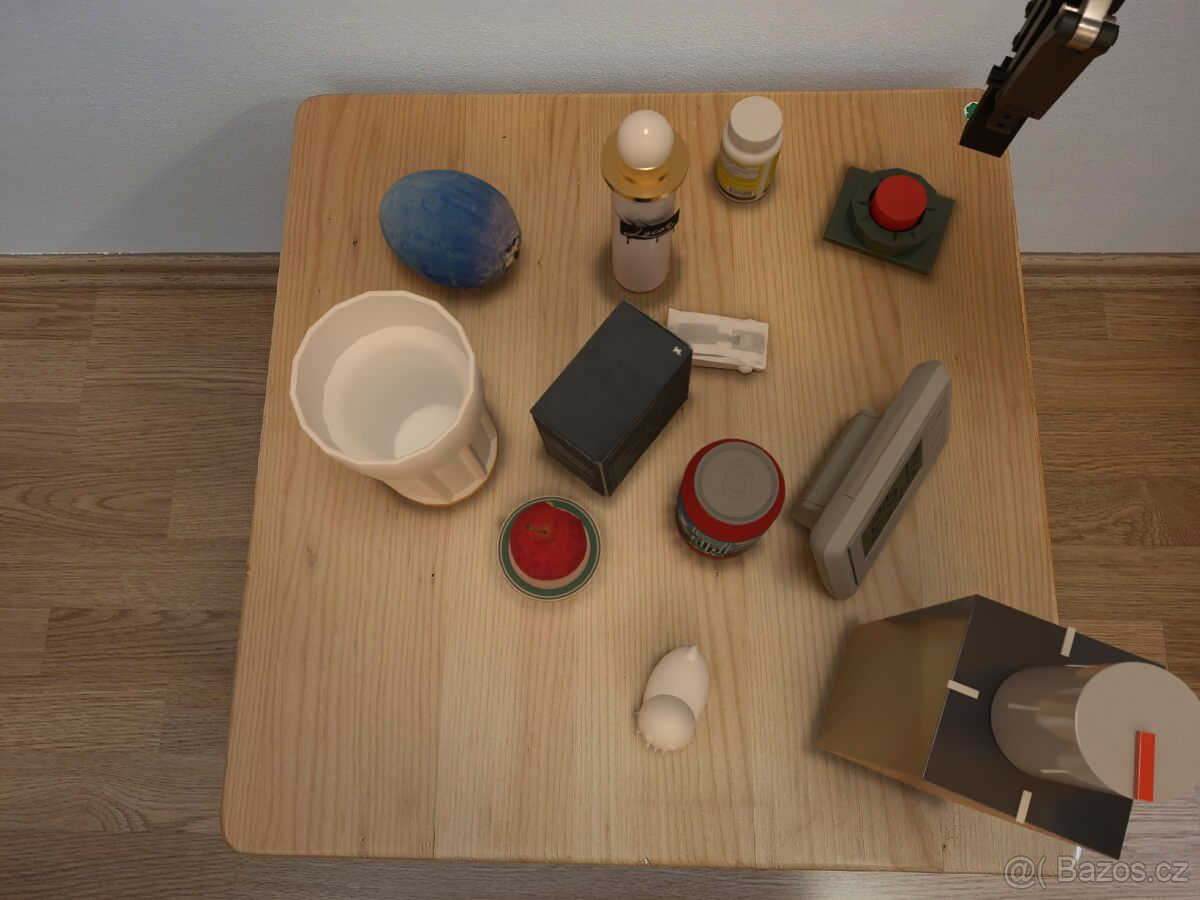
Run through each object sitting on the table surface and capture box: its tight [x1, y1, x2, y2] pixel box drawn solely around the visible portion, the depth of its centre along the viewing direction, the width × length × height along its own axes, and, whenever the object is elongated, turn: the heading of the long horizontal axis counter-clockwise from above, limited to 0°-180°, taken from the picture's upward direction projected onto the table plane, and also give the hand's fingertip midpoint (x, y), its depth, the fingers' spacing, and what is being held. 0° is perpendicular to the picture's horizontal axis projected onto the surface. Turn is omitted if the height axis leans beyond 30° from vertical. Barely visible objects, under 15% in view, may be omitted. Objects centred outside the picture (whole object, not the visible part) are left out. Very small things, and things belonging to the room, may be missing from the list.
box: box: [529, 299, 693, 498], centre depth 65 cm, size 11×7×10 cm, turn 142°
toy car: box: [666, 307, 770, 374], centre depth 70 cm, size 5×8×2 cm, turn 83°
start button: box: [870, 175, 927, 231], centre depth 71 cm, size 4×4×2 cm
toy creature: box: [632, 644, 711, 759], centre depth 62 cm, size 5×8×6 cm, turn 157°
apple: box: [496, 495, 603, 602], centre depth 65 cm, size 8×8×6 cm
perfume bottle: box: [599, 108, 690, 293], centre depth 64 cm, size 6×6×20 cm
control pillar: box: [813, 593, 1166, 861], centre depth 52 cm, size 9×9×24 cm
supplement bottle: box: [715, 95, 784, 203], centre depth 71 cm, size 5×5×8 cm
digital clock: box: [789, 360, 953, 599], centre depth 63 cm, size 16×9×11 cm, turn 134°
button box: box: [822, 165, 956, 276], centre depth 73 cm, size 9×7×2 cm
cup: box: [288, 289, 499, 507], centre depth 62 cm, size 11×11×17 cm
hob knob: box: [991, 662, 1200, 803], centre depth 37 cm, size 5×5×8 cm
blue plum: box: [378, 168, 553, 290], centre depth 70 cm, size 9×9×15 cm
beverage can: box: [674, 438, 786, 560], centre depth 62 cm, size 7×7×12 cm
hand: (982, 141), depth 57 cm, fingers closed
